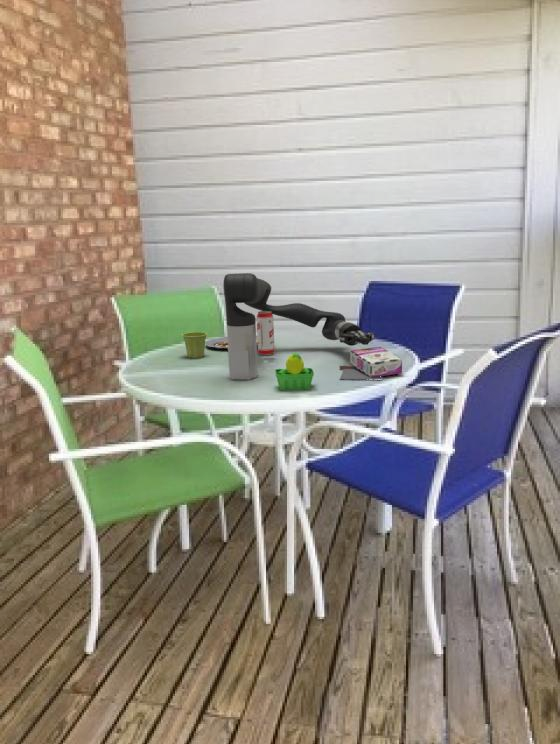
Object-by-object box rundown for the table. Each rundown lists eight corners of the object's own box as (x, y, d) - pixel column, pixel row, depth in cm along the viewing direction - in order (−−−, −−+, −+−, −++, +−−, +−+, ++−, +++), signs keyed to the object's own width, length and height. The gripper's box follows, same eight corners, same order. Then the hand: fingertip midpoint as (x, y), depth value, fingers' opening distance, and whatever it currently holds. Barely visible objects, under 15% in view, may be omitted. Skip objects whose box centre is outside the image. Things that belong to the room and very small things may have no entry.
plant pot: (205, 353, 251) (204, 331, 249) (210, 357, 242) (209, 334, 240) (181, 355, 248) (180, 333, 246) (185, 360, 239) (184, 337, 237)
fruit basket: (312, 383, 200) (311, 347, 197) (315, 391, 191) (314, 353, 189) (275, 385, 199) (274, 349, 197) (276, 392, 191) (274, 355, 188)
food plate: (260, 337, 278) (260, 329, 277) (273, 348, 256) (272, 339, 255) (202, 344, 272) (201, 335, 272) (210, 355, 250) (209, 346, 250)
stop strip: (388, 370, 213) (388, 366, 212) (339, 369, 216) (339, 366, 215) (388, 369, 213) (388, 366, 213) (339, 369, 217) (339, 365, 216)
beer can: (275, 352, 247) (273, 310, 244) (273, 355, 241) (272, 313, 238) (259, 352, 248) (257, 310, 244) (257, 356, 242) (255, 313, 238)
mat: (382, 380, 200) (382, 379, 200) (339, 379, 203) (339, 378, 203) (383, 370, 213) (383, 369, 213) (344, 369, 216) (344, 368, 215)
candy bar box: (349, 364, 217) (370, 378, 202) (349, 350, 216) (369, 363, 201) (380, 360, 220) (402, 373, 205) (380, 346, 218) (402, 358, 203)
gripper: (365, 342, 233) (385, 351, 217) (330, 345, 230) (347, 354, 214) (365, 321, 232) (385, 328, 215) (330, 324, 229) (347, 331, 212)
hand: (366, 341), depth 215 cm, fingers closed
